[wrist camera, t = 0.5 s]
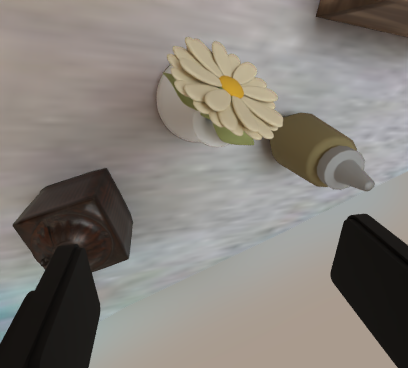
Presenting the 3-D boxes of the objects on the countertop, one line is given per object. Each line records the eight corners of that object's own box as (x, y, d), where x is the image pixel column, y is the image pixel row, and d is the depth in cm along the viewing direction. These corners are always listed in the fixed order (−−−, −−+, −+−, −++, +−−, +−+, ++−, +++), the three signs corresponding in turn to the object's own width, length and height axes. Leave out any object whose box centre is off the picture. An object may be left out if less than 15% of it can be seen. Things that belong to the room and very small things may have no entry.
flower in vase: (253, 104, 39) (384, 174, 16) (192, 154, 40) (234, 277, 18) (197, 19, 33) (282, -48, 11) (129, 81, 35) (80, 131, 13)
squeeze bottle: (317, 144, 43) (412, 198, 27) (271, 167, 44) (338, 234, 28) (304, 97, 39) (404, 128, 23) (254, 123, 40) (319, 171, 24)
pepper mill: (34, 189, 39) (-50, 284, 23) (107, 165, 39) (73, 243, 23) (85, 265, 46) (47, 377, 30) (147, 245, 46) (141, 346, 30)
